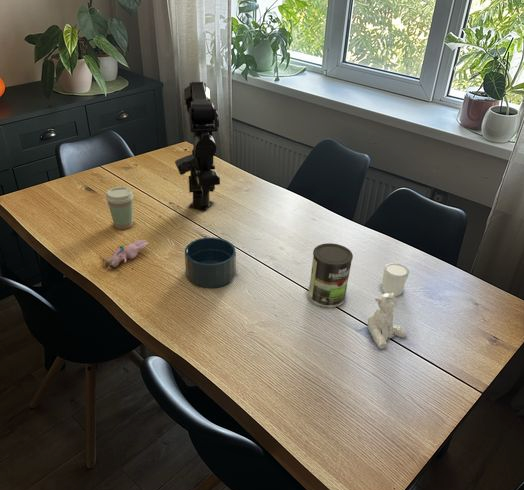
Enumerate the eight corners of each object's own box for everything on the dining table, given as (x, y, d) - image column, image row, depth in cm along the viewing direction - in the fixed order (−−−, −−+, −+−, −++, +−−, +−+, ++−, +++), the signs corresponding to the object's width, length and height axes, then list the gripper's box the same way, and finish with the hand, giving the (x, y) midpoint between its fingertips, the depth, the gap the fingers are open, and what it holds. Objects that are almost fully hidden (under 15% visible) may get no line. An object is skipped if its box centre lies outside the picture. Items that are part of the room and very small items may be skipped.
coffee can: (352, 301, 136) (360, 259, 128) (321, 311, 132) (327, 268, 123) (331, 281, 143) (338, 239, 135) (301, 290, 139) (305, 247, 131)
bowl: (204, 255, 151) (203, 232, 147) (244, 269, 146) (245, 246, 141) (176, 278, 141) (174, 254, 136) (218, 294, 136) (218, 270, 131)
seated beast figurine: (380, 351, 120) (390, 313, 113) (355, 331, 126) (362, 293, 119) (406, 336, 125) (417, 299, 118) (381, 318, 131) (389, 281, 124)
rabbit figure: (114, 276, 142) (155, 249, 150) (108, 261, 138) (150, 234, 146) (101, 267, 146) (142, 242, 154) (96, 252, 142) (137, 226, 150)
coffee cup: (140, 219, 167) (136, 187, 160) (132, 232, 160) (127, 199, 153) (115, 217, 168) (110, 185, 161) (106, 230, 161) (100, 196, 154)
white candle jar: (405, 285, 143) (410, 265, 139) (402, 299, 137) (408, 279, 133) (381, 280, 144) (385, 260, 140) (377, 293, 139) (382, 273, 135)
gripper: (172, 139, 153) (175, 187, 161) (180, 159, 137) (183, 210, 146) (208, 137, 155) (209, 184, 164) (220, 157, 140) (220, 207, 148)
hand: (205, 196), depth 155 cm, fingers closed
